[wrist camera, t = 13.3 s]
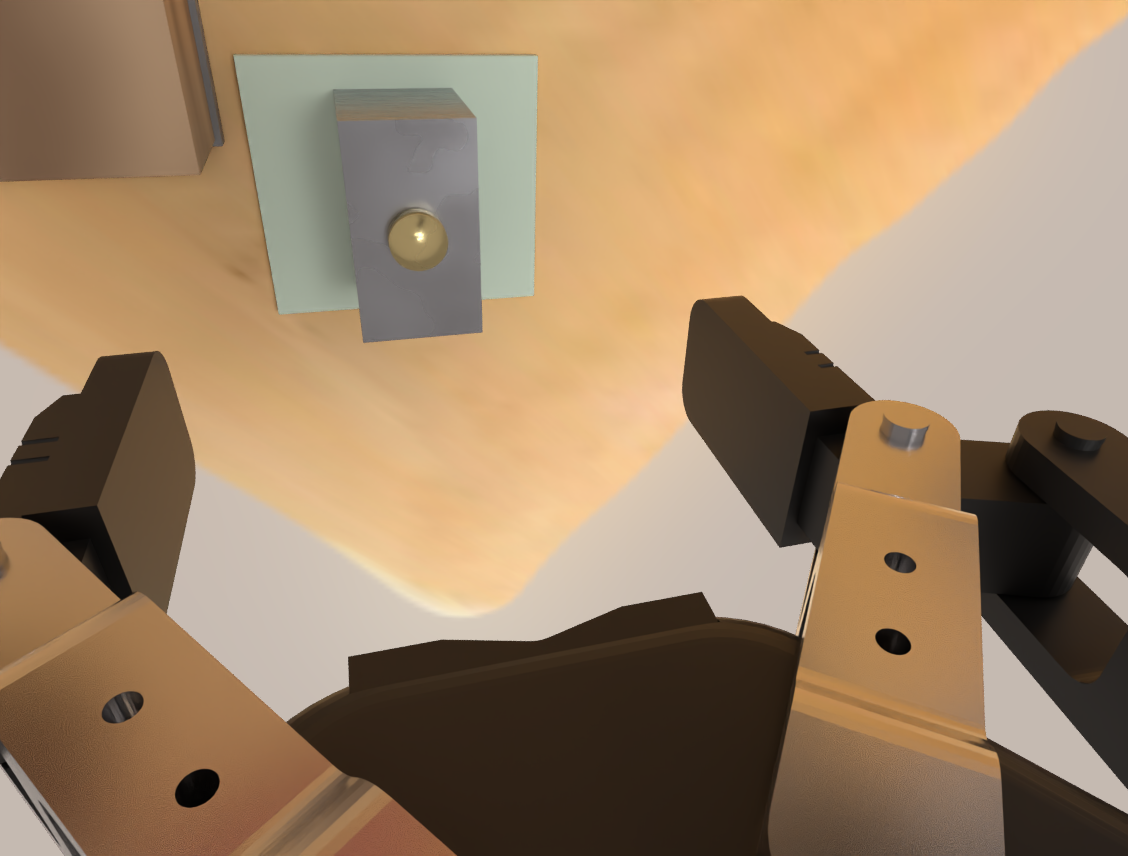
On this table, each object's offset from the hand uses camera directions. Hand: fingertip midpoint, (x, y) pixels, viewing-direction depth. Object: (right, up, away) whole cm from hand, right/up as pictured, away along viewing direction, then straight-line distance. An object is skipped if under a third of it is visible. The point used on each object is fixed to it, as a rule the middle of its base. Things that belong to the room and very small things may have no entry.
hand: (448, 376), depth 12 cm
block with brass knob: (-4, +8, +16) cm, 19 cm away
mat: (-4, +8, +17) cm, 19 cm away
